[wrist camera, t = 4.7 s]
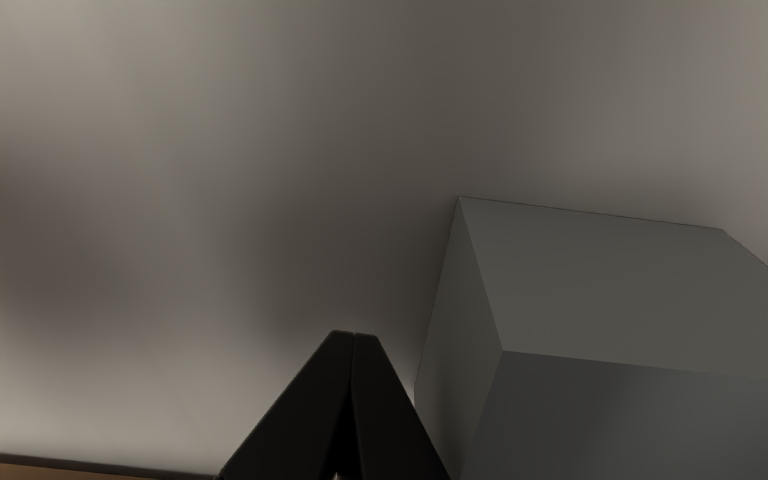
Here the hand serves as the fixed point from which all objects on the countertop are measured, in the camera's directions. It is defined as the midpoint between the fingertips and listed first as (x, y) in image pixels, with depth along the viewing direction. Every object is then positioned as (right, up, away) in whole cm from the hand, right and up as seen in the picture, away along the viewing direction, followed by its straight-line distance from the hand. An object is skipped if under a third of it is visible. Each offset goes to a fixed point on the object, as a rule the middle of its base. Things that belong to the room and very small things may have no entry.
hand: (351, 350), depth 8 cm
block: (+4, 0, +2) cm, 4 cm away
